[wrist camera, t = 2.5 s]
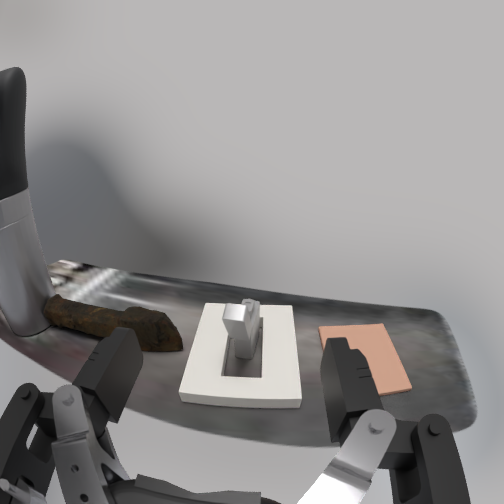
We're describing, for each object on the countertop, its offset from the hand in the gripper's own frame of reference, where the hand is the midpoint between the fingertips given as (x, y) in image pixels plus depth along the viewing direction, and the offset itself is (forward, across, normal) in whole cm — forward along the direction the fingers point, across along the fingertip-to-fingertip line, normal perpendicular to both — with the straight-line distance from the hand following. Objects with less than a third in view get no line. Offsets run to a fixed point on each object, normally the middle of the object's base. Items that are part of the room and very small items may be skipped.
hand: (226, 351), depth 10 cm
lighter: (+12, 0, +12) cm, 17 cm away
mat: (+10, -12, +12) cm, 20 cm away
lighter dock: (+12, 0, +12) cm, 17 cm away
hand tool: (+13, +16, +12) cm, 24 cm away
